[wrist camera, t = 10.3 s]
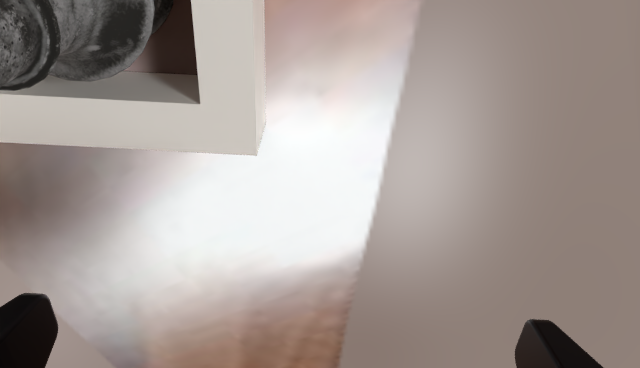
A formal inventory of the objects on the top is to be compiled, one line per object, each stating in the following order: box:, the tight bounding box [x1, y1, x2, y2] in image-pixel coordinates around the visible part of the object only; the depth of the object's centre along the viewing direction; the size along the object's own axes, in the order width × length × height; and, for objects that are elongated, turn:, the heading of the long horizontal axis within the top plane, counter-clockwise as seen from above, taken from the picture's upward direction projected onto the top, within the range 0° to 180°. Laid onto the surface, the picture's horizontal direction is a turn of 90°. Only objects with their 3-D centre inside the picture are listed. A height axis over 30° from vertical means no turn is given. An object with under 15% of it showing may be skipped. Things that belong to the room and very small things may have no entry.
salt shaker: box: [0, 0, 173, 91], centre depth 13 cm, size 6×6×12 cm
